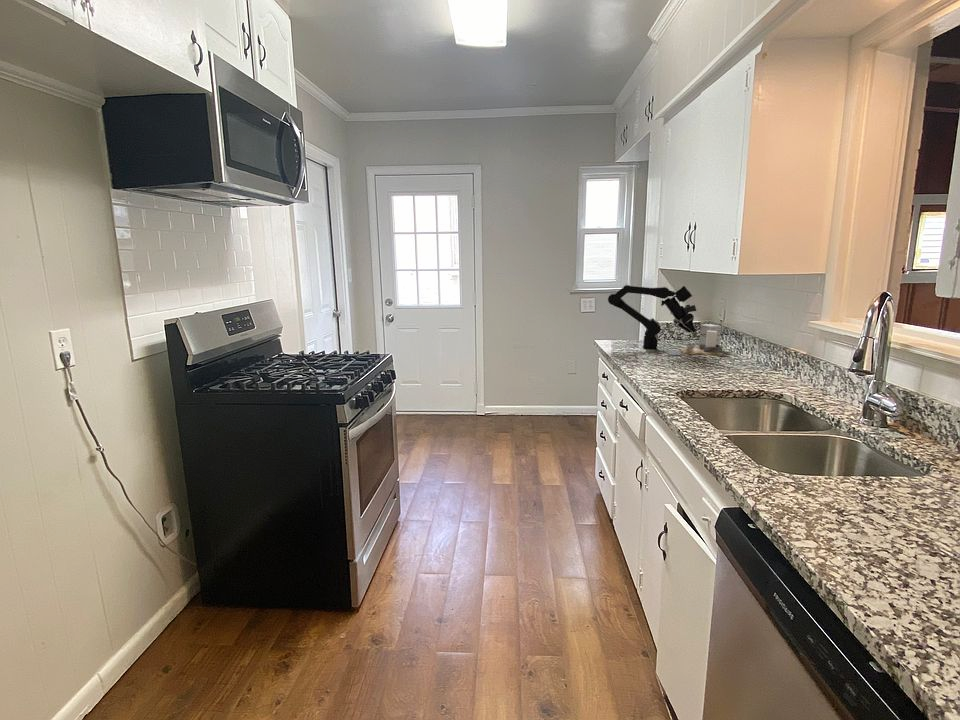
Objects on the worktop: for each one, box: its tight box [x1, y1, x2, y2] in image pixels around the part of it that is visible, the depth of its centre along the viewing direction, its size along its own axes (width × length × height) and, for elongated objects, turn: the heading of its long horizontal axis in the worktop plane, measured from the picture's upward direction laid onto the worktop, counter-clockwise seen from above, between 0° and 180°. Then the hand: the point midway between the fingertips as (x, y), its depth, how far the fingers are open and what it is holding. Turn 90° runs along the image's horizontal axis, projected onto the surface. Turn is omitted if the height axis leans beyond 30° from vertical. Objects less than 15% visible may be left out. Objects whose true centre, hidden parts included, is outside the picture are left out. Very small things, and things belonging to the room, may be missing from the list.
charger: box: [706, 330, 717, 347], centre depth 266 cm, size 5×4×10 cm
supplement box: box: [698, 323, 722, 348], centre depth 276 cm, size 7×7×13 cm
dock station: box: [679, 343, 723, 356], centre depth 266 cm, size 19×13×4 cm
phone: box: [666, 349, 683, 357], centre depth 262 cm, size 6×12×1 cm, turn 164°
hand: (692, 332), depth 269 cm, fingers open, 9 cm apart
